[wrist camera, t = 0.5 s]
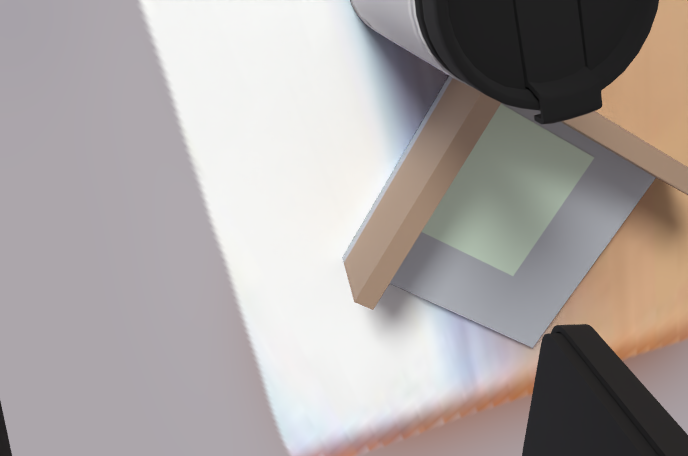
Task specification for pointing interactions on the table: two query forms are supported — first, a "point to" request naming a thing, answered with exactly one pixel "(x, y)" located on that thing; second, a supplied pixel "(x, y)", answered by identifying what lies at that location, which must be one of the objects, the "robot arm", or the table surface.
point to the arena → (501, 210)
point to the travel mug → (521, 45)
